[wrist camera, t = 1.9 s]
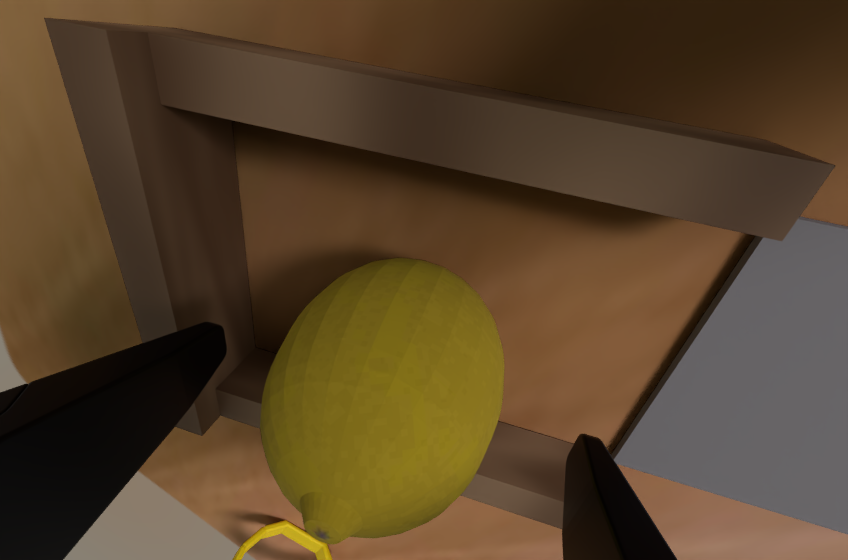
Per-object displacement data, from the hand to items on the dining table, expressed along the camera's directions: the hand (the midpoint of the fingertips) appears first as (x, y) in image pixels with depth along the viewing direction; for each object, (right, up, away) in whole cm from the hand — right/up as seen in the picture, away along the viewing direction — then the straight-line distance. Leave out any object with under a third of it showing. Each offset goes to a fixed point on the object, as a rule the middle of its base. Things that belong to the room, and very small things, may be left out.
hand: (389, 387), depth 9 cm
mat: (+13, -1, +2) cm, 13 cm away
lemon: (+1, +2, +4) cm, 5 cm away
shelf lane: (+1, +2, +4) cm, 5 cm away
